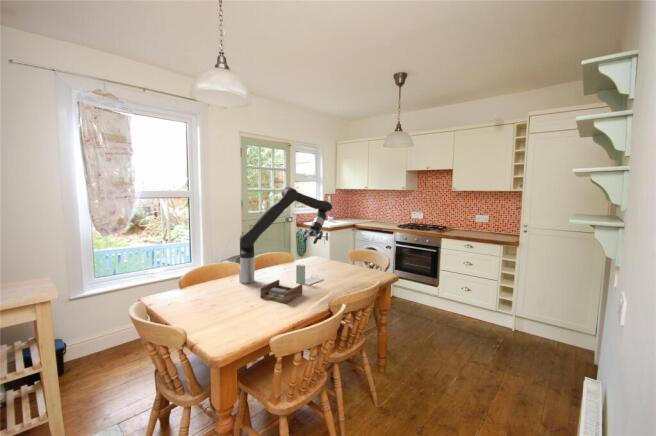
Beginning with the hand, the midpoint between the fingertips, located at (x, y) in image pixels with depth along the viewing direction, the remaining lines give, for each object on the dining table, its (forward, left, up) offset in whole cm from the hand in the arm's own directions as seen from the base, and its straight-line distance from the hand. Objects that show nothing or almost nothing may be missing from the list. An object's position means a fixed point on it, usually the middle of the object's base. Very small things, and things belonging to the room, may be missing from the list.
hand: (308, 242), depth 195 cm
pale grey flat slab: (0, -8, -28) cm, 29 cm away
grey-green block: (0, -10, -25) cm, 28 cm away
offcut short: (+4, -38, -23) cm, 45 cm away
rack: (+4, -36, -27) cm, 45 cm away
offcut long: (+4, -38, -25) cm, 46 cm away
